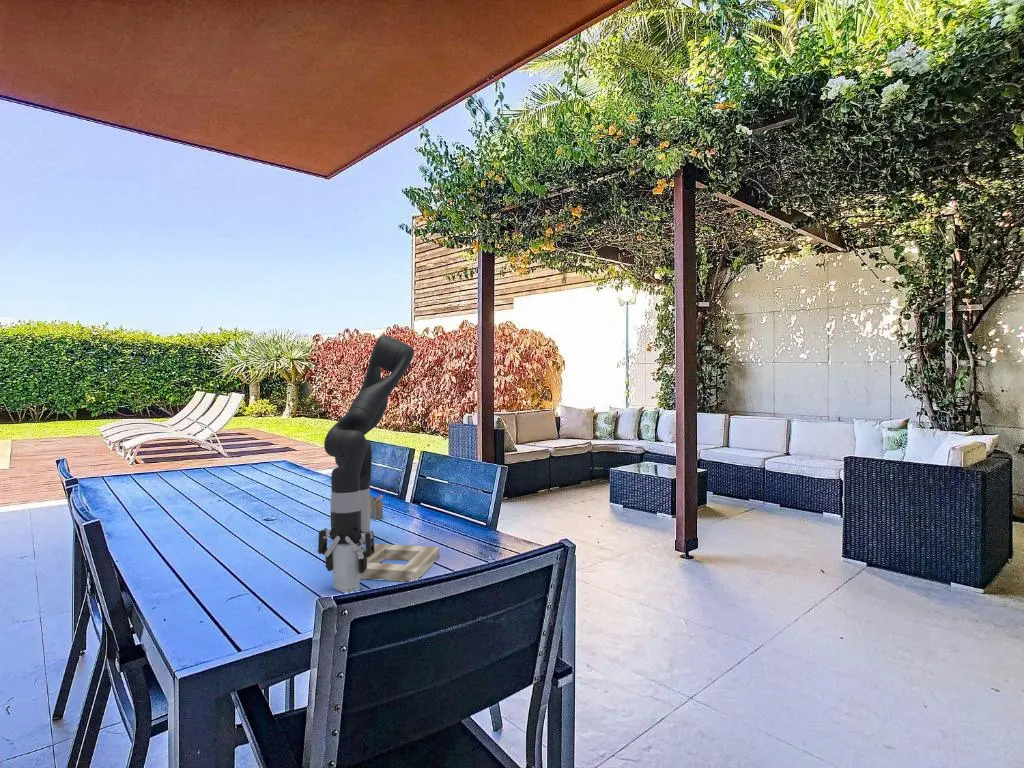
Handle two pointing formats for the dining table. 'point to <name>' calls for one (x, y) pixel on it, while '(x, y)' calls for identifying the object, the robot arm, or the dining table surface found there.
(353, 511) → the robot arm
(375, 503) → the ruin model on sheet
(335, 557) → the skincare box
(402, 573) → the socket block
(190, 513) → the dining table surface
